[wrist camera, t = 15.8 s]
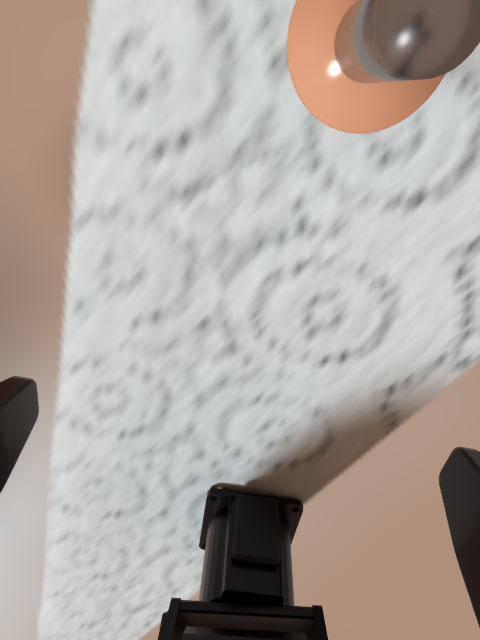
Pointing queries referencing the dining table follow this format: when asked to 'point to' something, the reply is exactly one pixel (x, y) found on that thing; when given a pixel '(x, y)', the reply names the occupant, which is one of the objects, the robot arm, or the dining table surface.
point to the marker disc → (343, 75)
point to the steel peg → (406, 38)
